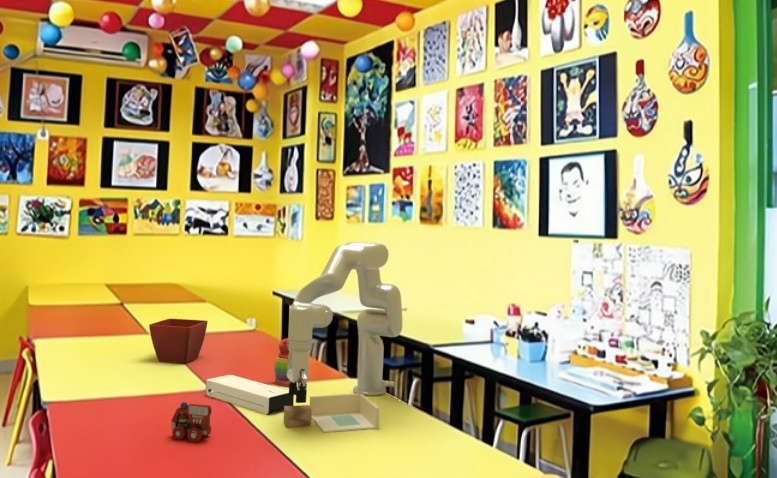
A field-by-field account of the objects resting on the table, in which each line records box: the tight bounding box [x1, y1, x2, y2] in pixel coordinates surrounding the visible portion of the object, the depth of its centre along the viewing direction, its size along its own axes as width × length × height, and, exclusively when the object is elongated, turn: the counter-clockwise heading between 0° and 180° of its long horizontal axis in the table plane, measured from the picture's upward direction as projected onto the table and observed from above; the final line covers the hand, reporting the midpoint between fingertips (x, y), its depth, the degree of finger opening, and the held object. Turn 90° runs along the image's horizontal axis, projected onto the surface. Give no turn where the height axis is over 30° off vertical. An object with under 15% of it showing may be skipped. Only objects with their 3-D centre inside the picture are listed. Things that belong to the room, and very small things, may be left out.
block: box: [283, 404, 312, 429], centre depth 215 cm, size 8×5×6 cm, turn 106°
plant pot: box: [148, 318, 208, 364], centre depth 299 cm, size 19×19×17 cm
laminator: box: [205, 374, 295, 415], centre depth 238 cm, size 34×12×6 cm, turn 52°
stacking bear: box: [273, 337, 291, 388], centre depth 266 cm, size 11×10×18 cm
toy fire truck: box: [171, 401, 212, 443], centre depth 199 cm, size 7×12×10 cm, turn 74°
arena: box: [309, 393, 380, 434], centre depth 220 cm, size 18×18×7 cm
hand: (297, 398), depth 215 cm, fingers open, 9 cm apart
